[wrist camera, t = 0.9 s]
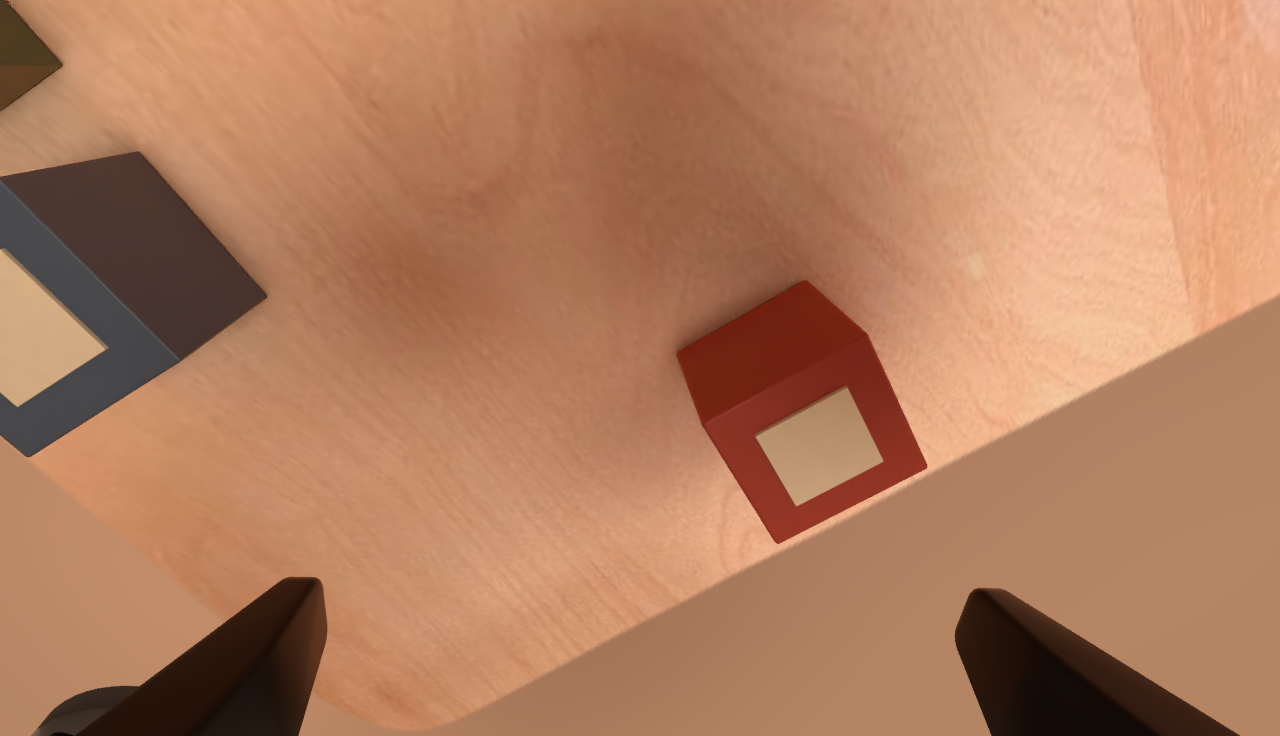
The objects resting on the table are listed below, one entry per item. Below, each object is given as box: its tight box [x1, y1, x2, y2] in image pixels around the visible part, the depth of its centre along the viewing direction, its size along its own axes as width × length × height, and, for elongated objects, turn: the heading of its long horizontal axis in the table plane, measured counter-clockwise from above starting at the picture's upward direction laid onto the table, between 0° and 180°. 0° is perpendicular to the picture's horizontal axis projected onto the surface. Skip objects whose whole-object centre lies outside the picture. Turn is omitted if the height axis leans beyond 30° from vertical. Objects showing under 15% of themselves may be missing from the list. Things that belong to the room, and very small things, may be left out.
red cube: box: [676, 280, 927, 544], centre depth 21 cm, size 5×5×5 cm
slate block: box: [0, 152, 267, 457], centre depth 17 cm, size 5×5×5 cm
